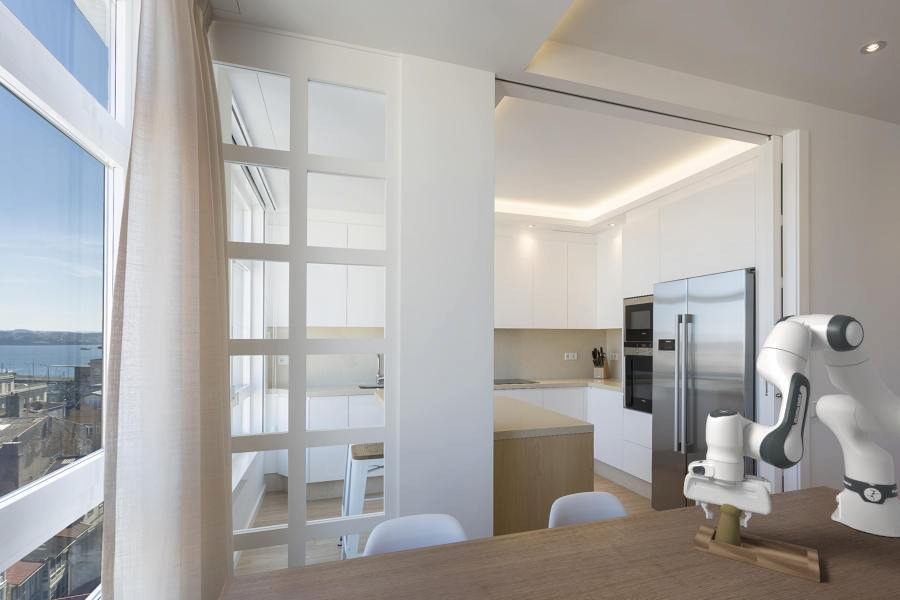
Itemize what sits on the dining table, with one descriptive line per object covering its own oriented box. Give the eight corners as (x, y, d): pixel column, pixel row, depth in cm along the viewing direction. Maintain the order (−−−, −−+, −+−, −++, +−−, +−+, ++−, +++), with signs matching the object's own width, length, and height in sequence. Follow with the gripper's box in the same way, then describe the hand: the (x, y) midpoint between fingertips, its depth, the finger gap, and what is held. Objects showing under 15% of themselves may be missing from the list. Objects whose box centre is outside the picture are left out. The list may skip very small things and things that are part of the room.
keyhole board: (702, 531, 131) (702, 522, 131) (817, 559, 115) (817, 549, 115) (694, 548, 120) (693, 539, 120) (820, 582, 104) (819, 571, 104)
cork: (745, 551, 118) (748, 508, 118) (719, 546, 119) (723, 504, 119) (734, 539, 124) (738, 499, 124) (711, 535, 125) (714, 495, 125)
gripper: (772, 475, 119) (773, 529, 118) (686, 461, 131) (687, 509, 130) (771, 481, 114) (773, 537, 113) (682, 465, 126) (682, 516, 125)
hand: (726, 522), depth 122 cm, fingers open, 6 cm apart
